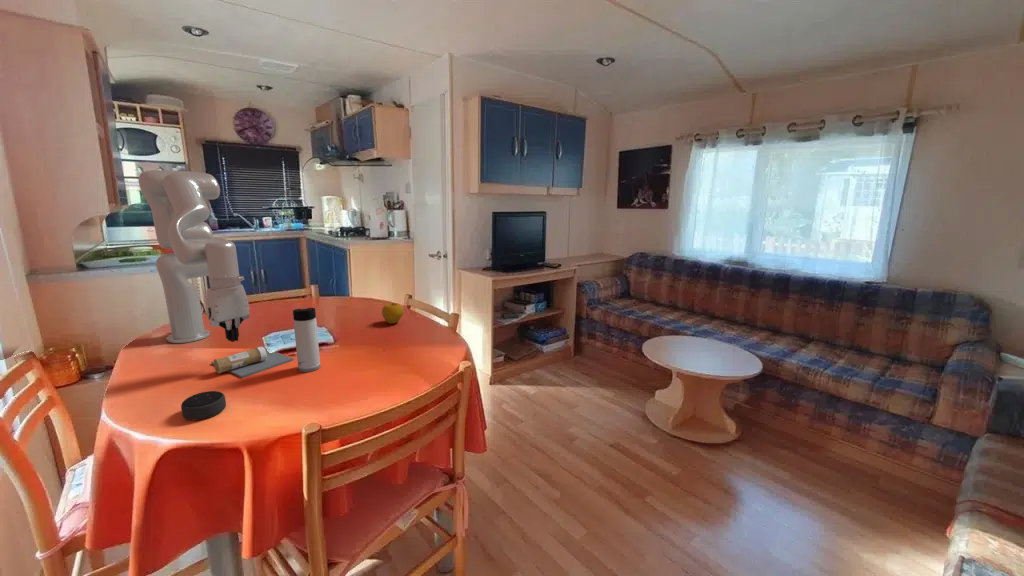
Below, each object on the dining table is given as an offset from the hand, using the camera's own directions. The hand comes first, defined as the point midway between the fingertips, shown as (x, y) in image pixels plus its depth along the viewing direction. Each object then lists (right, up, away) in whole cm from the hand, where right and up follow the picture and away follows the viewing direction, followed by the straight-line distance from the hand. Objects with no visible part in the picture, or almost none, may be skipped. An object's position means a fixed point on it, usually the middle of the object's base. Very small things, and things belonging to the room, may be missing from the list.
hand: (233, 340), depth 127 cm
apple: (+36, +1, +49) cm, 60 cm away
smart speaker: (+9, -16, -23) cm, 29 cm away
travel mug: (+22, -9, +3) cm, 24 cm away
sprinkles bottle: (-3, -7, -4) cm, 9 cm away
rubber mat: (+2, -8, +6) cm, 10 cm away
